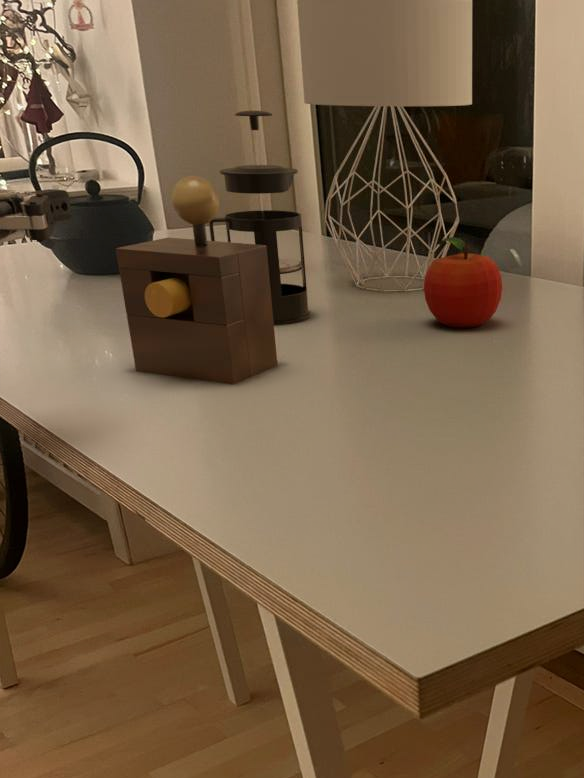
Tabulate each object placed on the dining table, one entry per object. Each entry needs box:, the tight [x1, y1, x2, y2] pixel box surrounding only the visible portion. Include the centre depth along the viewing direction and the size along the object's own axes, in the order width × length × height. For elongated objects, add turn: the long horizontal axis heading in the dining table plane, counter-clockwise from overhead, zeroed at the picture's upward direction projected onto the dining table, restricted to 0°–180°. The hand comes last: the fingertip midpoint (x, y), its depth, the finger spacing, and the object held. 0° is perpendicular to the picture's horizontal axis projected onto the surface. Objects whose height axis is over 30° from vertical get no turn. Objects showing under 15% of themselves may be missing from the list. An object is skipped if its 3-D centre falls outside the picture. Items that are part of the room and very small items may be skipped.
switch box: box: [115, 175, 278, 385], centre depth 98 cm, size 8×12×18 cm, turn 67°
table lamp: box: [296, 0, 473, 292], centre depth 134 cm, size 22×22×40 cm
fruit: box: [423, 236, 503, 329], centre depth 119 cm, size 10×10×10 cm
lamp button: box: [145, 278, 191, 317], centre depth 95 cm, size 3×3×3 cm
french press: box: [208, 110, 311, 326], centre depth 118 cm, size 12×9×23 cm
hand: (63, 203), depth 82 cm, fingers closed
